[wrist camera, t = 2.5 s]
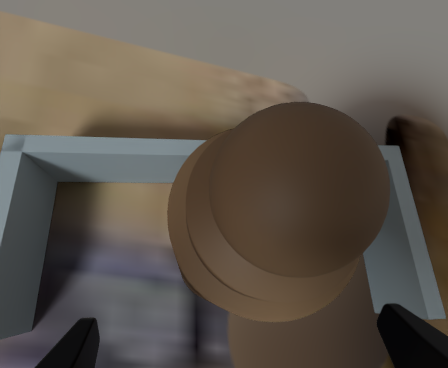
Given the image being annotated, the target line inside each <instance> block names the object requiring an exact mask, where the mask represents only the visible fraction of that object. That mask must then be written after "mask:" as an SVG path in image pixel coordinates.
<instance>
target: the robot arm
mask: <svg viewBox="0 0 448 368" xmlns="http://www.w3.org/2000/svg"><path fill="white" fill-rule="evenodd" d="M377 327H378V330H379V333H380V335H381V337H382V339H383V342H384V344H385V346H386V349H387V351H388V353H389V356H390V358H391V360H392V363H393V365H394V367H395V368H448V336H446V335H445V334H443V333H442V332H440V331H439V330H437V329H436V328H434V327H433V326H431V325H430V324H428V323H427V322H425V321H424V320H422V319H421V318H419V317H418V316H416V315H415V314H413V313H412V312H410V311H409V310H407V309H406V308H404V307H403V306H401V305H400V304H397V303H387V304H384V305H383V307H382V309H381V312H380V314H379V317H378V320H377ZM99 342H100V336H99V330H98V325H97V320H96V318H81V319H80V320H78V321H77V322H76V323H75V325H74V326H73V327H72V328H71V329H70V330H69V331H68V332H67V333H66V334H65V335H64V336H63V338H62V339H61V340H60V341H59V342H58V343H57V344H56V345H55V346H54V347H53V348H52V349H51V350H50V352H49V353H48V354H47V355H46V356H45V357H44V358H43V359H42V360H41V361H40V362H39V363H38V365H37V366H36V367H35V368H95V363H96V358H97V353H98V348H99Z"/></svg>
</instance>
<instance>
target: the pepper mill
mask: <svg viewBox="0 0 448 368" xmlns="http://www.w3.org/2000/svg"><path fill="white" fill-rule="evenodd" d="M389 200H390V179H389V173H388V169H387V166H386V163H385V160H384V157H383V155H382V153H381V151H380V149H379V147H378V145H377V144H376V142H375V141H374V139H373V138H372V137H371V135H370V134H369V133H368V132H367V131H366V130H365V129H364V128H363V127H362V126H361V125H359V123H357V122H356V121H355V120H353V119H352V118H351V117H349V116H347V115H346V114H344V113H342V112H340V111H338V110H335V109H333V108H330V107H327V106H324V105H320V104H315V103H308V102H291V103H283V104H278V105H274V106H271V107H268V108H266V109H263V110H261V111H258V112H256V113H255V114H253V115H251V116H249V117H248V118H247V119H245V120H244V121H243V122H241V123H240V124H239V125H238V126H237V127H236V128H234V129H230V130H227V131H224V132H222V133H219V134H217V135H215V136H213V137H212V138H210V139H208V140H207V141H205V142H204V143H203V144H201V145H200V146H199V147H197V148H196V149H195V150H194V151H193V152H192V153H191V154H190V155H189V157H188V158H187V159H186V161H185V162H184V163H183V165H182V166H181V168H180V170H179V172H178V173H177V175H176V178H175V180H174V183H173V185H172V188H171V192H170V196H169V202H168V211H167V214H168V229H169V235H170V240H171V243H172V247H173V250H174V253H175V256H176V259H177V263H178V266H179V269H180V272H181V275H182V278H183V280H184V282H185V284H186V285H187V287H188V288H189V289H190V290H191V291H192V292H193V293H195V294H196V295H198V296H200V297H202V298H203V299H205V300H207V301H209V302H211V303H213V304H215V305H217V306H219V307H221V308H223V309H225V310H227V311H229V312H231V313H233V314H235V315H238V316H241V317H244V318H247V319H251V320H256V321H262V322H283V321H291V320H296V319H299V318H303V317H306V316H308V315H311V314H313V313H315V312H317V311H319V310H320V309H322V308H324V307H325V306H327V305H328V304H330V303H331V302H332V301H333V300H334V299H335V298H336V297H337V296H338V295H339V294H340V293H341V292H342V290H343V289H344V288H345V287H346V286H347V285H348V283H349V281H350V280H351V278H352V276H353V274H354V272H355V270H356V268H357V265H358V263H359V259H360V255H361V254H362V253H364V252H365V250H366V249H367V248H368V247H369V246H370V245H371V243H372V242H373V241H374V240H375V238H376V237H377V235H378V233H379V232H380V230H381V228H382V225H383V223H384V220H385V218H386V215H387V212H388V207H389Z"/></svg>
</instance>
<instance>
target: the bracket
mask: <svg viewBox="0 0 448 368" xmlns="http://www.w3.org/2000/svg"><path fill="white" fill-rule="evenodd" d="M205 141H207V140H178V139H144V138H110V137H76V136H42V135H8V134H6V135H5V139H4V142H3V146H2V150H1V154H0V339H4V338H8V337H11V336H15V335H19V334H22V333H26V332H30V331H32V326H33V321H34V315H35V309H36V303H37V298H38V292H39V286H40V281H41V275H42V269H43V263H44V258H45V252H46V246H47V240H48V235H49V229H50V223H51V218H52V212H53V206H54V200H55V195H56V189H57V183H58V182H131V183H174V180H175V178H176V175H177V173H178V172H179V170H180V168H181V166H182V165H183V163H184V162H185V161H186V159H187V158H188V157H189V155H190V154H191V153H192V152H193V151H194V150H195V149H196V148H197V147H199V146H200V145H201V144H203V143H204V142H205ZM378 147H379V149H380V151H381V153H382V155H383V157H384V160H385V163H386V166H387V169H388V173H389V179H390V200H389V207H388V212H387V215H386V218H385V220H384V223H383V225H382V228H381V230H380V232H379V233H378V235H377V237H376V238H375V240H374V241H373V242H372V243H371V245H370V246H369V247H368V248H367V249H366V250H365V252H364V253H363V256H364V261H365V266H366V271H367V276H368V281H369V286H370V291H371V296H372V301H373V306H374V311H375V313H380V312H381V309H382V307H383V305H384V304H387V303H397V304H400V305H401V306H403V307H404V308H406V309H407V310H409V311H410V312H412V313H413V314H415V315H416V316H418V317H419V318H421V319H445V318H446V316H445V312H444V309H443V305H442V301H441V298H440V294H439V290H438V287H437V283H436V279H435V276H434V272H433V268H432V265H431V261H430V258H429V254H428V250H427V247H426V243H425V239H424V236H423V232H422V228H421V225H420V221H419V217H418V214H417V210H416V207H415V203H414V199H413V196H412V192H411V188H410V185H409V181H408V177H407V174H406V170H405V167H404V163H403V159H402V156H401V152H400V148H399V146H382V145H378Z"/></svg>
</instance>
